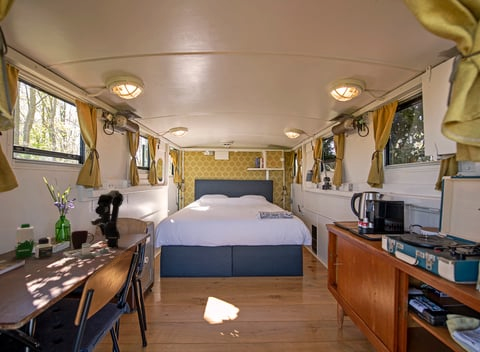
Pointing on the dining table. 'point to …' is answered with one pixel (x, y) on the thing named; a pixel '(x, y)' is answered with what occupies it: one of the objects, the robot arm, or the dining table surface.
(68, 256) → the tray
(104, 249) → the plunger
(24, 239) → the milk carton
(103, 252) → the filter head
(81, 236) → the cup
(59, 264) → the dining table surface
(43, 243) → the medicine bottle
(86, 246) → the cartridge
